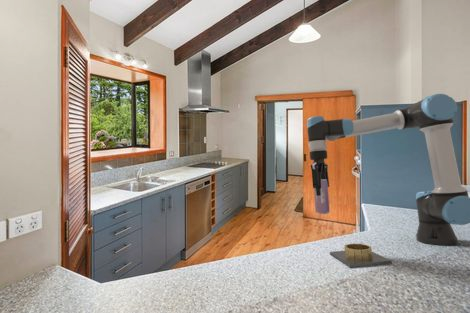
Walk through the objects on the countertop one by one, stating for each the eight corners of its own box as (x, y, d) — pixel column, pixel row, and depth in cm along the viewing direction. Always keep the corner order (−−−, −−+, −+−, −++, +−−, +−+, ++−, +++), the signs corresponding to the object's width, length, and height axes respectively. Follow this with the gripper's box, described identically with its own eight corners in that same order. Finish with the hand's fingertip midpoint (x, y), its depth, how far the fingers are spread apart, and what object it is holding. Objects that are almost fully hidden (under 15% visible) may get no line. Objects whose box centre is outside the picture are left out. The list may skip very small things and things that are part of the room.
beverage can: (329, 212, 116) (327, 179, 117) (329, 214, 110) (327, 179, 112) (315, 212, 118) (313, 179, 119) (315, 214, 112) (312, 179, 114)
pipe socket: (366, 251, 110) (365, 240, 110) (391, 263, 94) (390, 250, 94) (330, 254, 108) (329, 243, 109) (350, 267, 92) (348, 254, 93)
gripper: (318, 152, 126) (322, 200, 124) (301, 150, 112) (305, 204, 110) (333, 150, 121) (338, 200, 119) (317, 148, 107) (323, 204, 105)
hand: (322, 202), depth 115 cm, fingers closed on beverage can, 5 cm apart
